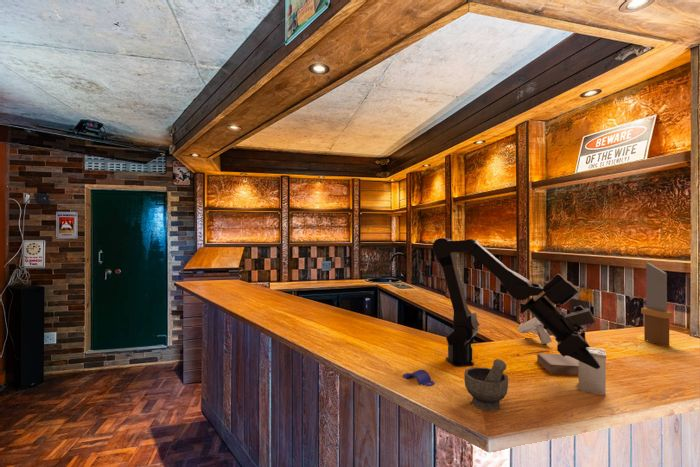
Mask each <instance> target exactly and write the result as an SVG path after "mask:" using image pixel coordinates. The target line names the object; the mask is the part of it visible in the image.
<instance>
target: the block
mask: <svg viewBox="0 0 700 467" xmlns="http://www.w3.org/2000/svg"><path fill="white" fill-rule="evenodd" d="M536 358H537V359H536V360H537V361H536V362H537V363H538V364H539V365H541V366H542V367H543V368H544V370H546V371H548V372H549V373H550V374H552V373H553V375H554V374H555V375H557V374H558V375H569V374H570V375H571V376H573V375H574V376H579V360H576V359H574V358H572V357H570V356H564V357H563V356H562V355H561V354H560V353H559V354H558V353H557V354H556V353H543V352H539V353H538V352H537V357H536Z"/></svg>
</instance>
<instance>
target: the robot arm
mask: <svg viewBox="0 0 700 467" xmlns="http://www.w3.org/2000/svg"><path fill="white" fill-rule="evenodd" d="M431 247H432V252H433V254H434V257H435V258H436V260H437V261H438V263H439V265H440V267H441V268H442V271H443V275H444V280H445V283H446V287H447V291H448V294H449V295H448V296H449V299H450V301H451V306H452V310H453V319H452V325H453V331H452V332H451V333H450V334H449V335H448V336H447V337H446V338H445V340H446V342H447V357H445V360H446V361H448V362H449V363H450V364H452V365H453V366H454V367H463V366H474V365H475V362H473V347H472V342H470V341H471V340H472V338H473V337H475V336H476V335H477V333H478V331H479V326H480V323H479V321H478V317H477V316H478V315H477V313H476V312H471V310H470V309H469V307H468V303H467V300H466V294H465V293H464V288H463V285H462V281H461V277H460V274H459V269H458V267H457V260H458V258H457V257H458V253H464V252H465V253H469V254H470V255H471V256H472V257H473V258H474V259H476V260H477V261H478V262H479V263H480V264H482V265H483V266H484V267H485V268H486V269H487V270H488V271H490V272H491V274H493V275H494V276H495V277H496V278H497V279H498V280H499V281H500V283H501V284H502V285H503V288H504V289H505V290H506V291H507V292H508V294H509V295H510V296H511V297H512V298H513V299H514V300H516V301H524V300H525V301H526V300H527V301H526V302H520V303H519V305H520V307H519V308H520V311H519V312H520V314H523V313H525V312H526V311H529V312H530V313H531V315H532V316H533V317H535V318H536V319H537V320H538V321H539V322H540V323H541V324H542V325H543V328H544V329H545V330H547V332H548V333H550V334H551V335H552V336H553V337H554V338H555V341H556V342H557V346H556V350H557V353H559V354H561V355H562V356H563V357H564V356H570V357H572V358H574V359H576V360H579V361H581V362H583V363H585V364H587V365H589V366H591V367H593V368H595V369H598V368H600V365H599V364H598V363H597V361H596V360H595V359H594V357H593V356H592V355H591V353H590V352H589V351H588V349H587V348H586V347H591V345H589V343H588V342H587V340H586V330H584V326H585V325H592V324H594V323H596V319H595V317H594V315H593V313H592V311H591V310H590V308H588V307H586V308H585V307H583V306H582V305H577V306H574V312H573V311H572V312H570V313H567V314H566V312H564V311H562V310H560V309H557V307H556V306H554V305H561V306H564V305H565V304H566V303H568V302H569V301H570V300H572V299H573V298H574V297H576V295H578V294H579V293H580V292H581V291H580V290H579V288H577V287H576V286H575V285H574V284H573V283H572V282H571V281H570V280H569V281H568V279H567V278H565V277H564V276H562V275H561V274H560V273H556V275H554V277H553V278H551V280H549V281H548V282H547V283H546V284H545V285H543V284H540V283H539V284H538V283H533V282H532V281H530V279H528V278H526V277H524V276H523V275H521V274H520V273H518V272H516V271H514V270H512V269H510V268H509V267H507V266H506V265H505V264H504V263H503V262H502V261H500V260H499V259H498V258H497V257H495V256H494V255H493V253H491V252H490V251H489V250H487V249H486V248H485V247H484V246H483V245H482V244H480V243H479V240H477V239H474V238H468V239H464V240H463V239H461V240H460V239H459V240H453V239H452V238H449V237H444V238H443V237H440V238H439V237H438V238H437V239H435V240H434V242H433V244H432V246H431ZM540 294H541V295H540ZM539 295H540V296H539ZM535 296H539V297H537V298H536V297H535ZM530 297H531V298H530ZM529 298H530V299H529ZM528 299H529V300H528ZM553 304H554V305H553ZM579 330H582V331H581V332H579Z"/></svg>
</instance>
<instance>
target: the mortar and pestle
mask: <svg viewBox="0 0 700 467" xmlns="http://www.w3.org/2000/svg"><path fill="white" fill-rule="evenodd" d="M506 370H507V363H506V362H505V361H504V360H502V359H500V358H495V359H494V360H493V362H492V366H491V368H490V367H489V368H488V367H478V366H476V367H473V366H472V367H470V368H467V369H465V370H464V377H463V378H464V379H463V380H464V385H465V388H466V390H467V393H468V394H470V396H472V399H471V400H472V401H471V402H472V403H471V404H472V405H473V406H474V407H475V408H477V409H480V410H483V411H484V412H485V411H488V412H489V411H490V412H495V411H497V410H500V408H501V407H500V406H501V405H500V404H501V403H500V402H501V401H502V400H503V399H505V397H506V396H507V394H508V390H509V377H508V375H507V374H505V373H504V371H506Z"/></svg>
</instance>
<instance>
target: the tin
mask: <svg viewBox="0 0 700 467" xmlns="http://www.w3.org/2000/svg"><path fill="white" fill-rule="evenodd" d="M586 348H587V349H588V351H589V352H590V353H591V355H592V356H593V357H594V359H595V360H596V361H597V363H598V364H599V365H600V368H598V369H595V368H593V367H591V366H589V365H587V364H585V363H583V362H581V361H579V375H578V391H580V390H581V392H585V391H586V393H591V394H594V395H595V394H596V395H599V394H600V395H601V396H604V397H605V396H607V395H606V393H607V390H606V388H607V387H606V386H607V384H606V382H607V381H606V379H607V378H606V376H607V375H606V369H607V367H606V365H607V363H606V362H607V361H606V360H607V353H606V350H605V349H604V348H597V347H591V346H590V347H586Z"/></svg>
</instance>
